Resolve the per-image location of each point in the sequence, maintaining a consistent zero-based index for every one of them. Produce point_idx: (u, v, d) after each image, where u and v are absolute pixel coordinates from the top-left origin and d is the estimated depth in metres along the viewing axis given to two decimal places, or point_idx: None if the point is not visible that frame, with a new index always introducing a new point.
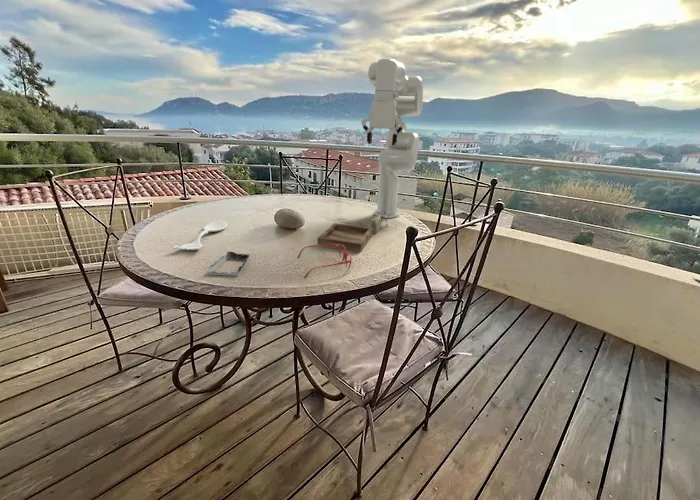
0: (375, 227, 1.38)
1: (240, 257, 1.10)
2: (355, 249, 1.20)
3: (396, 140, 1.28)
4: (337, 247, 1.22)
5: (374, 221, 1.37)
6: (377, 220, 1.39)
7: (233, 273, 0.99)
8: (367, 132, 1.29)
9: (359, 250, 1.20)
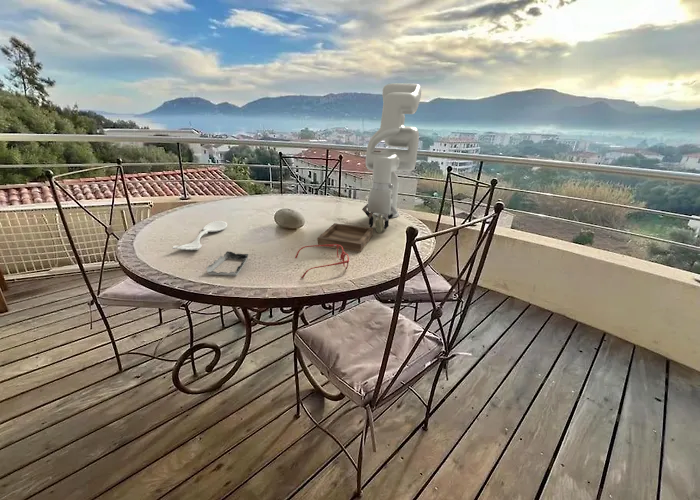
0: (379, 227, 1.38)
1: (238, 257, 1.11)
2: (355, 249, 1.20)
3: None
4: None
5: (378, 221, 1.38)
6: (381, 220, 1.40)
7: (232, 273, 0.99)
8: (369, 217, 1.42)
9: (359, 250, 1.20)
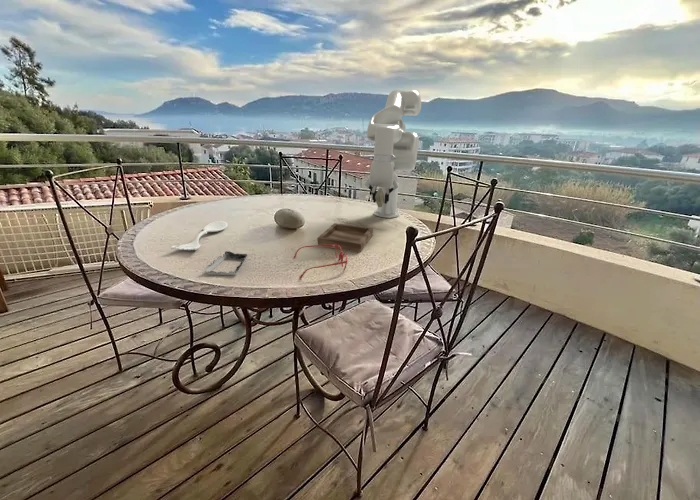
0: (380, 200, 1.35)
1: (237, 257, 1.11)
2: (355, 249, 1.20)
3: (388, 198, 1.39)
4: (337, 247, 1.22)
5: (379, 194, 1.34)
6: (381, 193, 1.36)
7: (231, 272, 1.00)
8: (372, 192, 1.38)
9: (359, 250, 1.20)
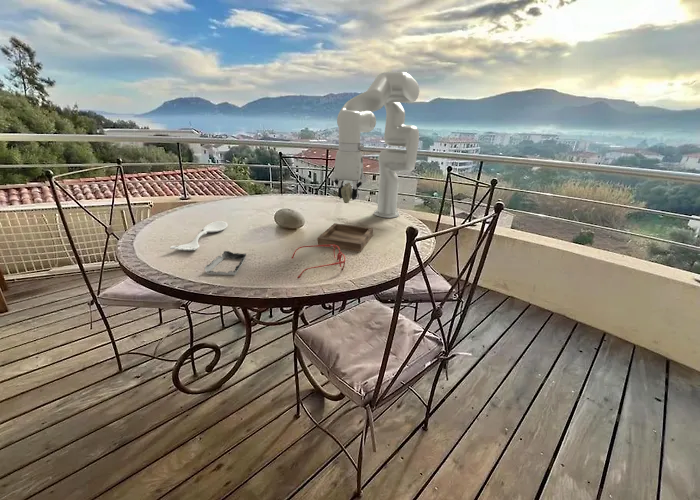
0: (346, 195, 1.19)
1: (236, 256, 1.11)
2: (355, 249, 1.20)
3: (356, 194, 1.23)
4: (337, 247, 1.22)
5: (345, 188, 1.18)
6: (348, 188, 1.20)
7: (230, 272, 1.00)
8: (338, 187, 1.22)
9: (359, 250, 1.20)
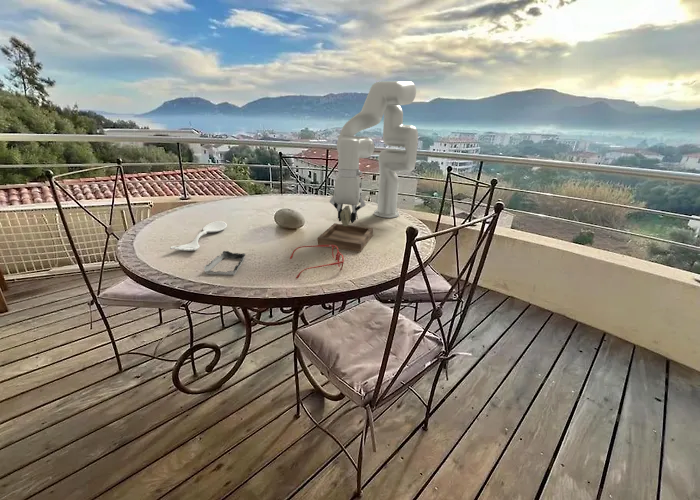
0: (345, 219, 1.22)
1: (235, 256, 1.11)
2: (355, 249, 1.20)
3: (355, 217, 1.26)
4: None
5: (344, 212, 1.21)
6: (347, 211, 1.23)
7: (229, 272, 1.00)
8: (338, 210, 1.25)
9: (359, 250, 1.20)
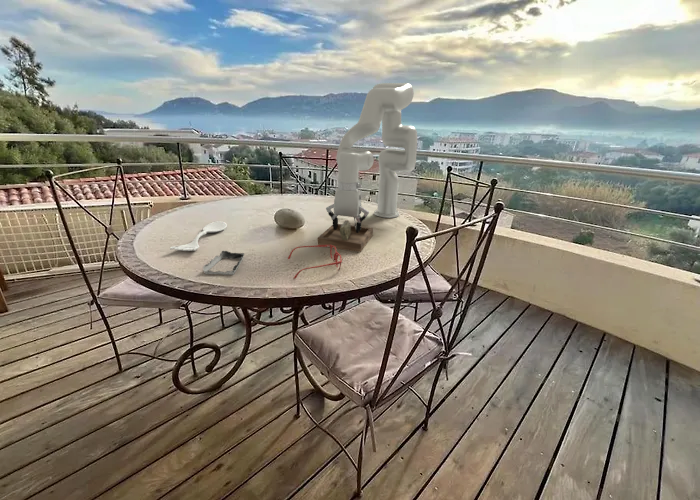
0: (345, 234, 1.25)
1: (234, 256, 1.11)
2: (355, 249, 1.20)
3: (360, 227, 1.27)
4: (337, 247, 1.22)
5: (343, 228, 1.24)
6: (346, 226, 1.26)
7: (228, 272, 1.00)
8: None
9: (359, 250, 1.20)
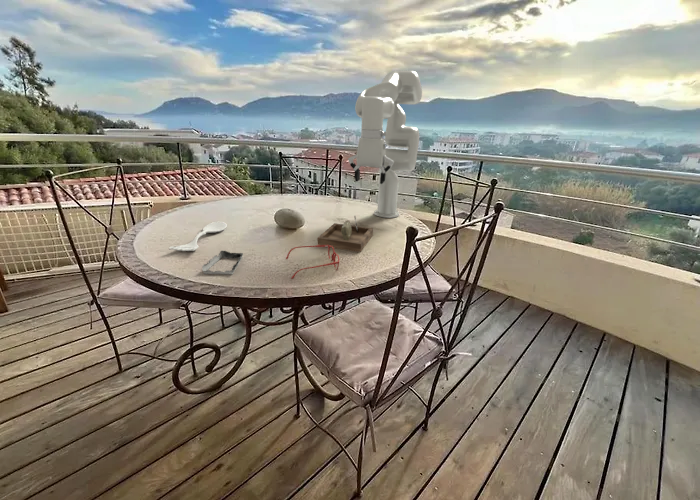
0: (346, 234, 1.25)
1: (233, 256, 1.11)
2: (355, 249, 1.20)
3: (384, 178, 1.23)
4: (337, 247, 1.22)
5: (345, 228, 1.24)
6: (348, 226, 1.26)
7: (227, 272, 1.00)
8: (354, 170, 1.24)
9: (359, 250, 1.20)
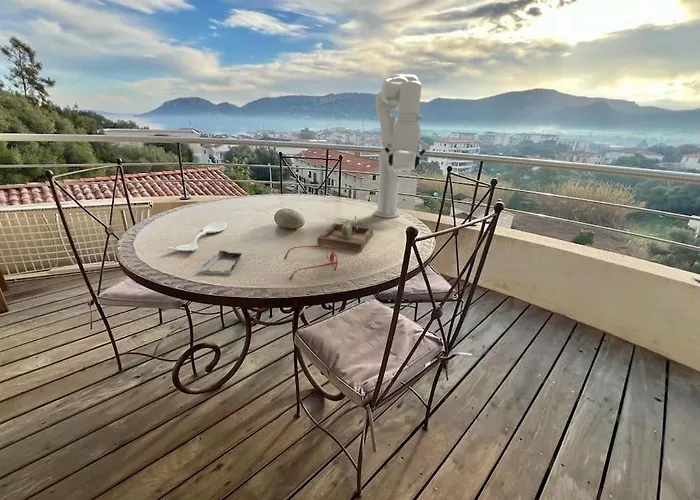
0: (346, 234, 1.25)
1: (232, 256, 1.11)
2: (355, 249, 1.20)
3: None
4: (337, 247, 1.22)
5: (345, 228, 1.24)
6: (348, 226, 1.26)
7: (226, 271, 1.00)
8: (389, 154, 1.26)
9: (359, 250, 1.20)
